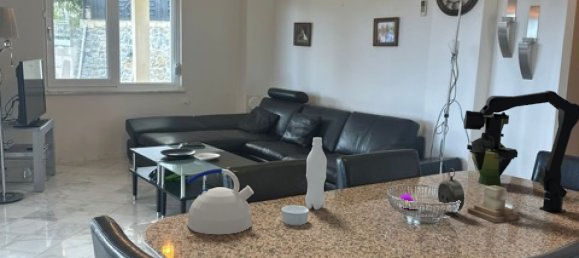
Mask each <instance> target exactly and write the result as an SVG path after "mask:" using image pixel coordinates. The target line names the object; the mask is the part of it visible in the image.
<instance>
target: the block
mask: <svg viewBox="0 0 579 258" xmlns="http://www.w3.org/2000/svg"><path fill="white" fill-rule="evenodd" d="M506 196H507V188H505V187H501V186H500V185H498V186H495V185H494V186H490V185H485V186H484V189H483V200H482V201H483V203H482V204H483V206H484V207H487V208H490V209H493V210H498V209H505V207H506Z"/></svg>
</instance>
